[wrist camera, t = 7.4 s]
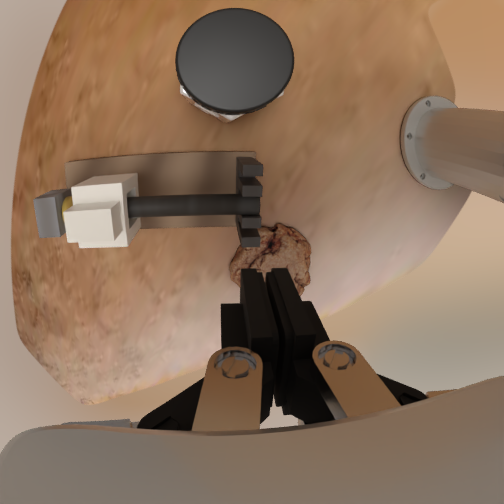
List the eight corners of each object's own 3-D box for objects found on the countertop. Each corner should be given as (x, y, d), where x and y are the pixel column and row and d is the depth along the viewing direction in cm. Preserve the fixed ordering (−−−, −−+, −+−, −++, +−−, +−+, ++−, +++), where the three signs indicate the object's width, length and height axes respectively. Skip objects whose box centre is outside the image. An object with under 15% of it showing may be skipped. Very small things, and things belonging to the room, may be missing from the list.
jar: (170, 95, 28) (146, 77, 17) (211, 34, 26) (211, -12, 15) (243, 135, 31) (260, 138, 20) (283, 74, 29) (320, 48, 18)
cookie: (259, 314, 40) (263, 327, 37) (213, 251, 36) (213, 262, 33) (325, 274, 39) (334, 286, 36) (287, 206, 35) (294, 213, 32)
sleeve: (137, 173, 26) (112, 189, 19) (141, 226, 28) (120, 258, 21) (93, 176, 26) (58, 193, 19) (98, 228, 28) (68, 259, 21)
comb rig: (254, 151, 32) (270, 159, 23) (252, 222, 35) (265, 255, 26) (69, 161, 29) (26, 175, 21) (76, 228, 32) (40, 260, 24)
